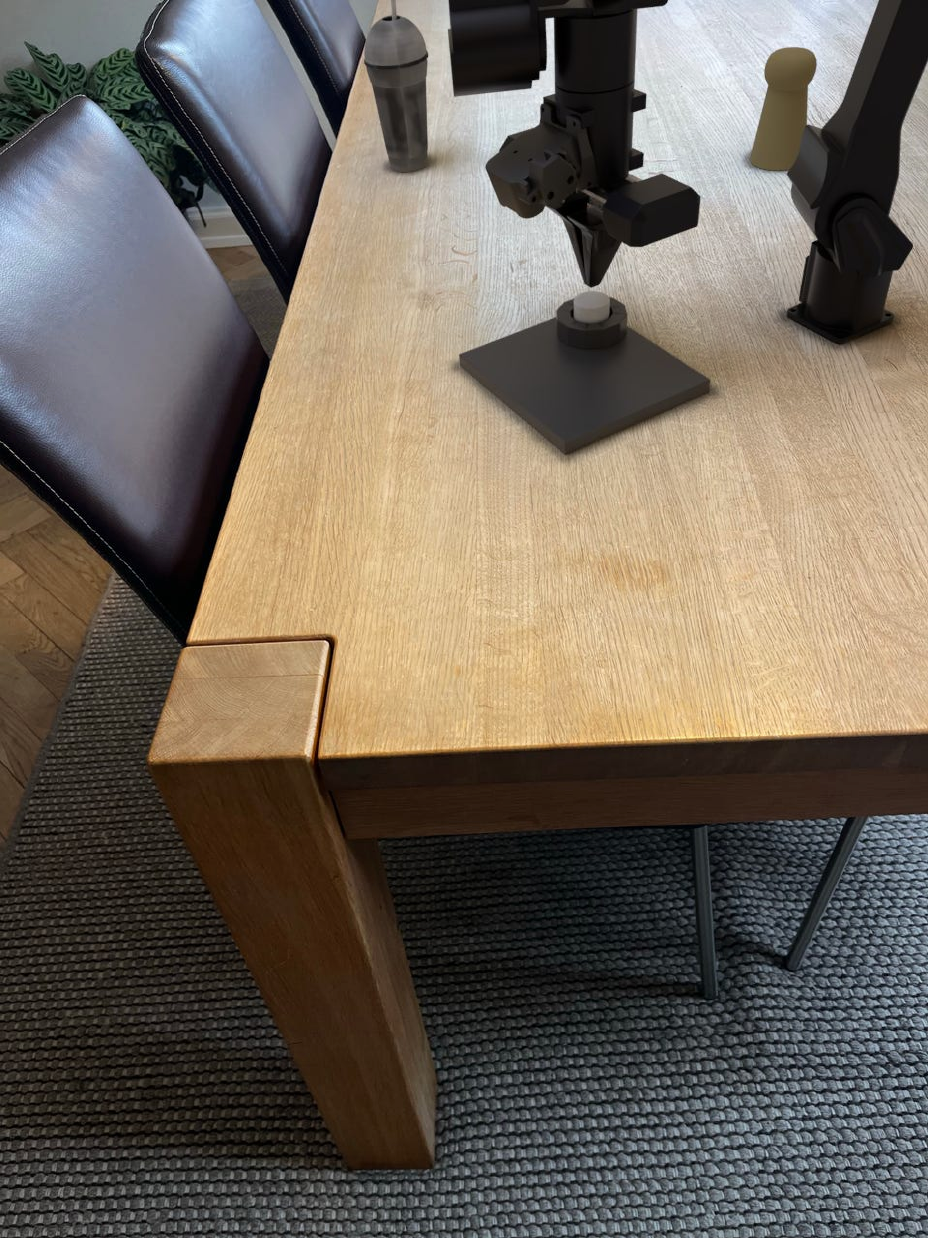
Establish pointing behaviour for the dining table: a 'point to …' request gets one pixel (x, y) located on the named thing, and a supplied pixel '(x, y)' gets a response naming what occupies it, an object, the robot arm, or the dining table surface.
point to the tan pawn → (783, 108)
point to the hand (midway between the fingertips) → (592, 284)
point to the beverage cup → (399, 88)
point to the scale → (583, 376)
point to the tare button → (591, 307)
